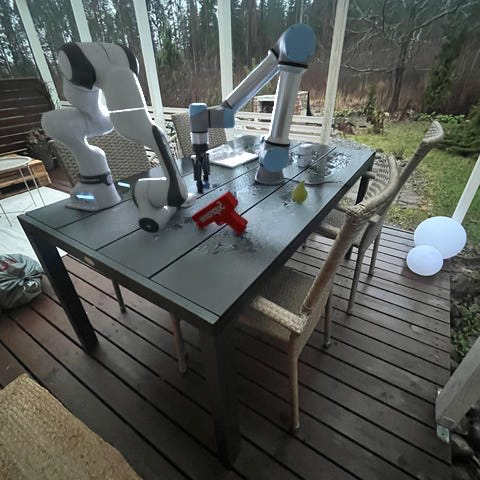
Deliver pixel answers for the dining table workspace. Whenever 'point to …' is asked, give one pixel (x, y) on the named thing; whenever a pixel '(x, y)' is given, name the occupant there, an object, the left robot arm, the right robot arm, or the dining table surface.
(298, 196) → the fruit
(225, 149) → the relief map
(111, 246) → the dining table surface
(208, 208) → the toy gun
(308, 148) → the ink box
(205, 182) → the lid
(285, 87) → the right robot arm
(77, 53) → the left robot arm
